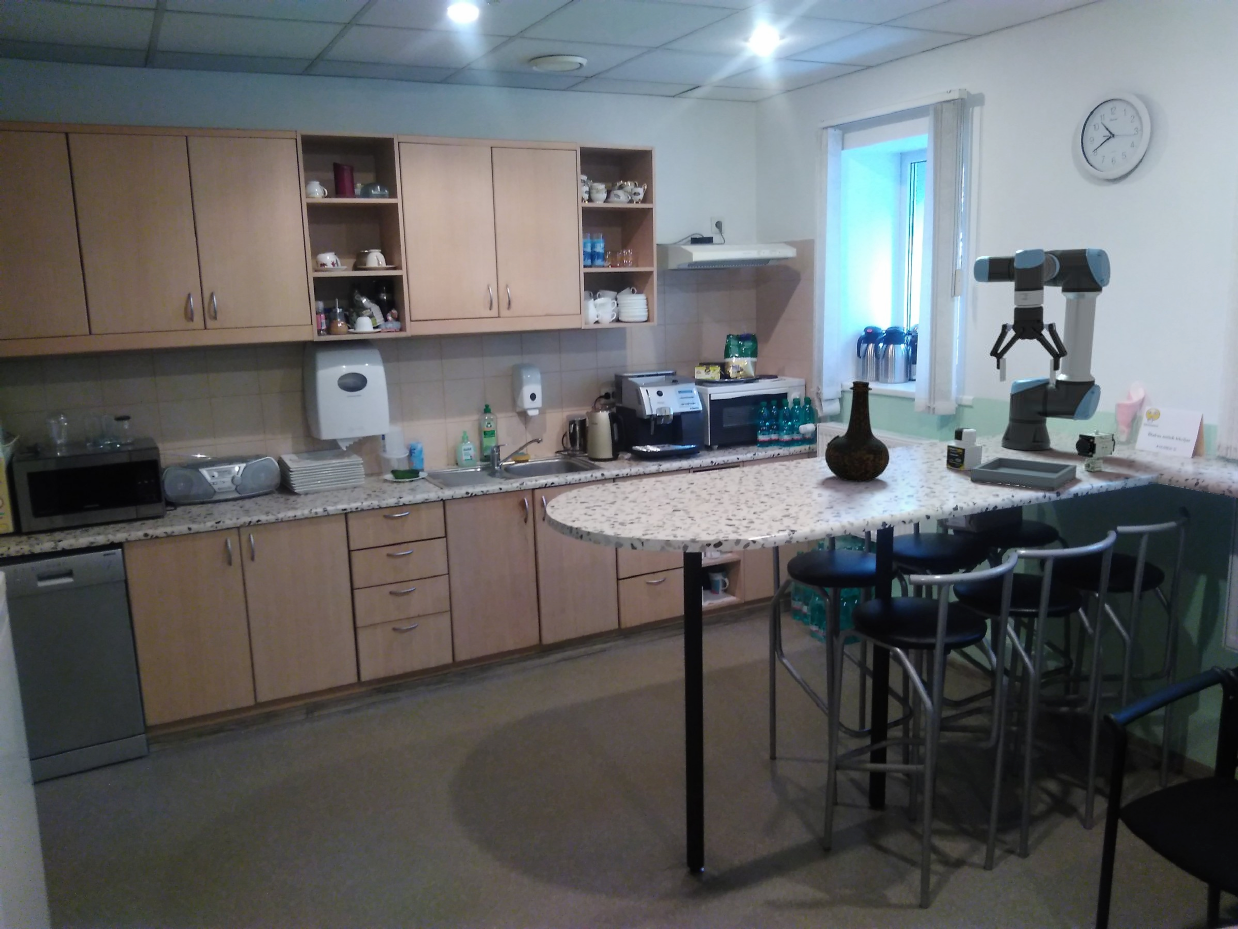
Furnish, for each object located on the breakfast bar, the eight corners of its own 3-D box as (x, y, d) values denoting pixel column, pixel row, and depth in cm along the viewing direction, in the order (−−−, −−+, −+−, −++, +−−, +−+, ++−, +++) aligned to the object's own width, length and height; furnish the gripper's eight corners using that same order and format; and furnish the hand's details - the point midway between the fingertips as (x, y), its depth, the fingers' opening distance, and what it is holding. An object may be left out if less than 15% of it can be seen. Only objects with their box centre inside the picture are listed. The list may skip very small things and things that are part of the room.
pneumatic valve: (1072, 471, 268) (1076, 430, 266) (1099, 467, 274) (1102, 427, 271) (1089, 474, 264) (1093, 433, 261) (1116, 470, 269) (1120, 430, 266)
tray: (996, 468, 274) (996, 456, 273) (1075, 477, 260) (1076, 465, 259) (970, 480, 257) (971, 468, 257) (1053, 491, 243) (1055, 478, 243)
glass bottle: (835, 470, 274) (838, 377, 269) (895, 475, 265) (900, 379, 260) (815, 481, 259) (818, 382, 254) (878, 487, 250) (883, 385, 245)
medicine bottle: (945, 467, 277) (947, 427, 275) (963, 464, 280) (965, 426, 278) (963, 471, 270) (965, 431, 268) (981, 468, 273) (983, 429, 271)
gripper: (978, 308, 260) (978, 382, 265) (1072, 306, 243) (1070, 385, 248) (988, 305, 265) (987, 378, 270) (1081, 303, 249) (1078, 380, 253)
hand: (1027, 381), depth 259 cm, fingers open, 13 cm apart
